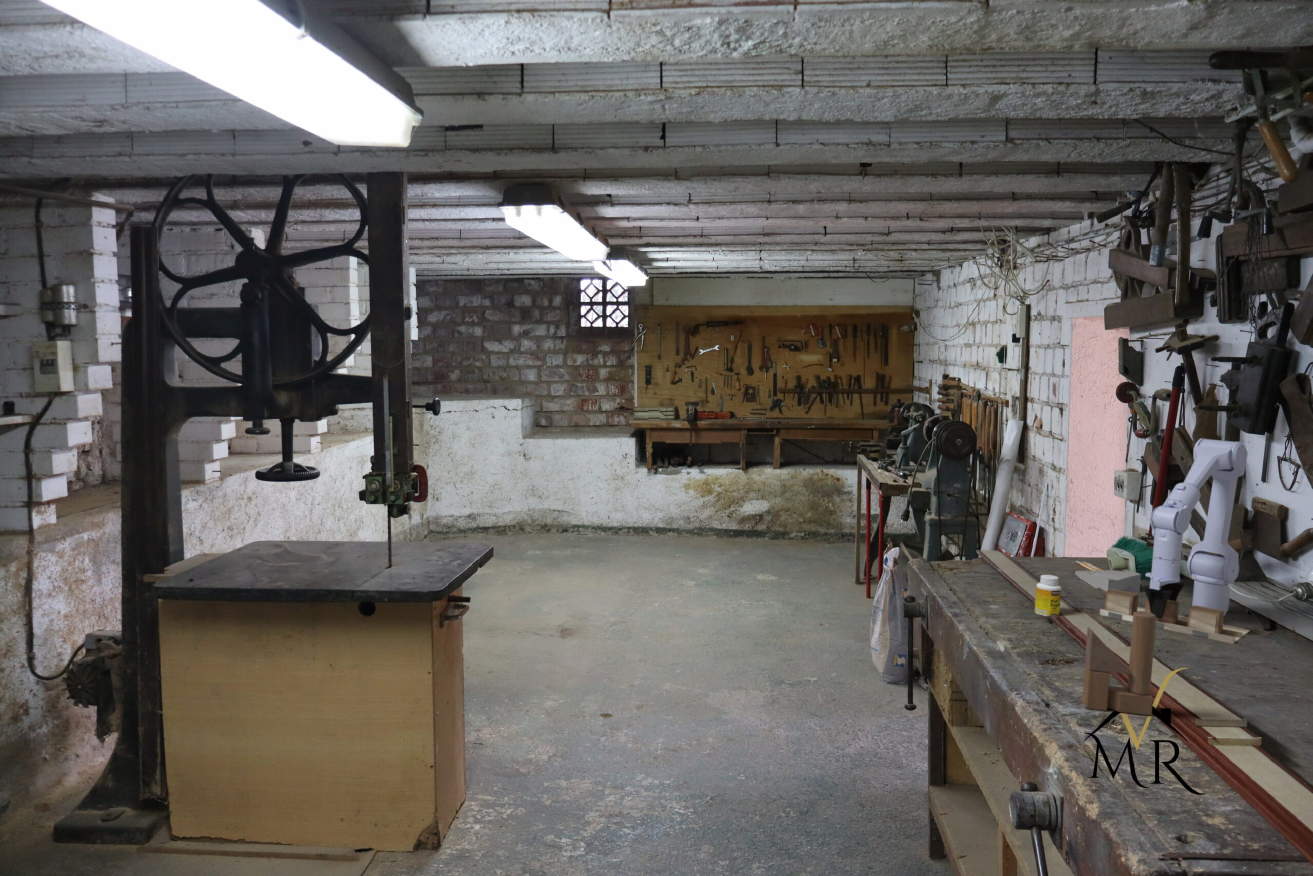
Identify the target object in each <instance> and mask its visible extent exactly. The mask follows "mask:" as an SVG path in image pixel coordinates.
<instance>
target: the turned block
mask: <svg viewBox="0 0 1313 876" xmlns="http://www.w3.org/2000/svg"><path fill="white" fill-rule="evenodd" d="M1144 608H1145V612H1150V606H1149V601H1148V598H1147V597H1146V598H1145V604H1144ZM1179 609H1180V601H1177V600H1176V601H1172V600H1167V603H1166V606H1165V610H1164V614H1163V617H1162V618H1161V619H1159V618H1156V621H1161V622H1165V623H1170V624H1175V625H1177V623H1178V615H1179ZM1150 613H1151V612H1150Z"/></svg>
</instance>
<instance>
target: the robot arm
mask: <svg viewBox="0 0 1313 876" xmlns="http://www.w3.org/2000/svg"><path fill="white" fill-rule="evenodd" d="M1247 461H1248V450H1247V448H1246V445H1245V443H1243V441H1230V440H1219V439H1209V438H1208V439H1207V438H1204V437H1203V438H1199V439H1198V440H1197V441H1196V443H1195V444H1194V447H1193V463H1192V465H1191V467H1190V469H1189V471H1188V473H1187V475H1186V477H1185V479H1184V481H1183V482H1180V483H1179V482H1178V483H1177V484H1176V485H1174V487H1173V489H1172V490H1171V492H1170V493H1169V495H1168V496H1167V498H1166V499H1165V502H1164V503H1163V504H1162V505H1159V506H1157V507H1155V508H1154V509H1153V510H1152V512H1151V516H1150V519H1149V523H1150V526H1151V535H1152V537H1153V548H1152V549H1153V550H1152V560H1151V572H1146V573H1145V577H1147V578H1150V581H1149V582H1150V583H1149V585H1147V584H1146V585H1144V586H1143V591H1144V593H1145V595H1146V599H1147V598H1148V601H1149V606H1150V612H1151V613H1153V614H1155V615H1156V618H1159V619H1161V618H1162V617H1163V614H1164V610H1165V606H1166V603H1167V600H1172V601H1177V600H1178V597H1179V595H1180V593H1181V591H1182V590H1183V589H1184V587H1185V583H1184V582H1181V577H1180V574H1181V573H1180V572H1181V560H1182V549H1183V548H1182V547H1183V537H1184V534H1185V533H1186V532H1187V530H1189V526H1190V521H1191V519H1192V515H1193V514H1192V511H1193V510H1194V508H1195V507H1196V505H1197V504H1198V502H1199V500H1200V499H1201V497H1202V494H1201V492H1200V489H1202V487H1203V485H1204V484H1205V483H1206V482H1207V481H1208V480H1209V478H1210V477H1212V479H1213V480H1212V485H1211V492H1210V498H1209V505H1208V511H1207V518H1206V523H1205V530H1204V534H1203V535H1204V537H1203V540H1202V541H1199V542H1197V543H1196V544H1194V545H1192V548H1191V551H1190V553H1189V556H1188V557H1187V561H1186V567H1187V568H1186V569H1187V571H1188V574H1189V575H1191V579H1192V580H1194V583H1193V593H1192V604H1191V607H1192V606H1194V605H1197V606H1202V607H1207V608H1212V609H1218V610H1223V611H1224V616H1226V615H1227V612H1228V611H1229V609H1230V608H1229V607H1230V606H1229V605H1230V596H1231V595H1230V594H1231V590H1230V584H1232V583H1234V581H1236V580H1237V578H1238V576H1239V573H1240V565H1239V555H1240V554H1239V553H1238V552H1237V551H1236V550H1235V549H1234V548H1233V547H1232V546H1231V545H1230V544H1229V543H1228V540H1229V536H1230V528H1231V522H1232V515H1233V510H1234V503H1235V497H1236V490H1237V484H1238V479H1239V477H1242V476H1244V475H1245V470H1246V469H1247V468H1246V466H1247ZM1212 553H1213V554H1212ZM1217 554H1218V555H1217Z"/></svg>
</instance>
